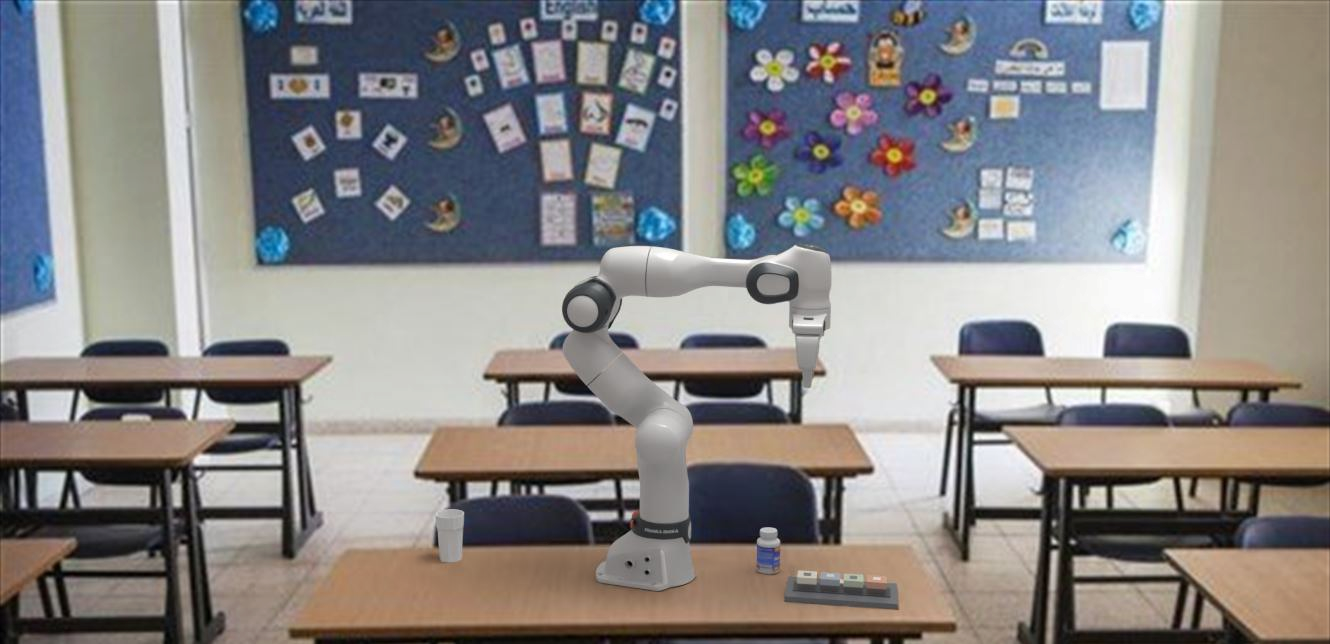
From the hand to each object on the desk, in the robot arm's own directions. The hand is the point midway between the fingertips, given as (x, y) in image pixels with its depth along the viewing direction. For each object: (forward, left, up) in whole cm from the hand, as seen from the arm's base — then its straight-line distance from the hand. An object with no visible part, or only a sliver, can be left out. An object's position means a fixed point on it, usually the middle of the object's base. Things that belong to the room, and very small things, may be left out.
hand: (808, 382), depth 270 cm
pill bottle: (-8, +8, -46) cm, 48 cm away
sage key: (+11, -4, -43) cm, 45 cm away
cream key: (+1, -4, -43) cm, 44 cm away
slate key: (+6, -4, -43) cm, 44 cm away
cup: (-82, +2, -46) cm, 95 cm away
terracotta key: (+16, -4, -43) cm, 46 cm away
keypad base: (+9, -4, -46) cm, 47 cm away
